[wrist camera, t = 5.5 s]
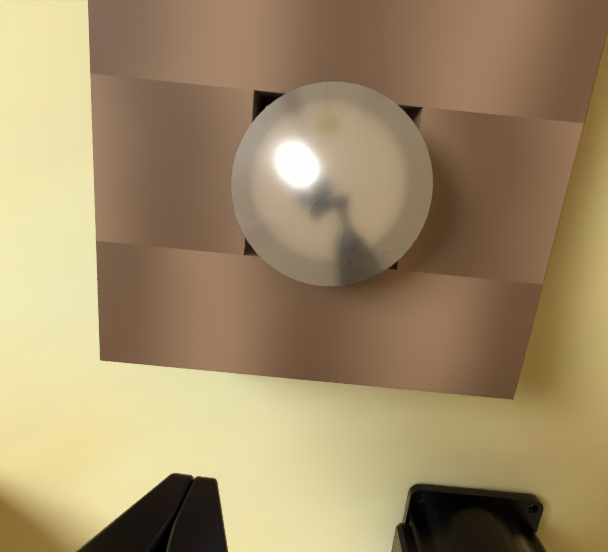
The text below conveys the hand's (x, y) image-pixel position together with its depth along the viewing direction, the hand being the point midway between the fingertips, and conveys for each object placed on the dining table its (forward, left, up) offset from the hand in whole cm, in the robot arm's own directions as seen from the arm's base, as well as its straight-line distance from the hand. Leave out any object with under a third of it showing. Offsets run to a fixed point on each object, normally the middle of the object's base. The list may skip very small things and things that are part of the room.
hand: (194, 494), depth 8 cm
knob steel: (-2, -5, -10) cm, 12 cm away
